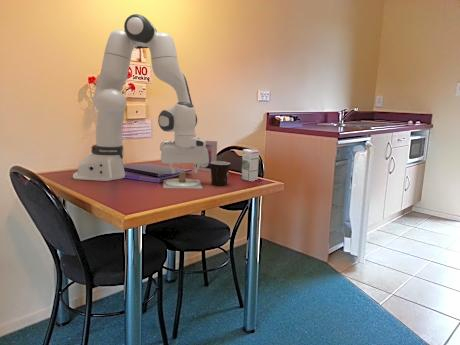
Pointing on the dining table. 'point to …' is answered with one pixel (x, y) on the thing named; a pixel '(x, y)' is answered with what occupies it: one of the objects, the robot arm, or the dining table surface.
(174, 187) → the grey mat
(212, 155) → the greeting card
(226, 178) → the coffee mug
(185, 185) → the sage lid
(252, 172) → the syrup box
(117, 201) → the dining table surface
